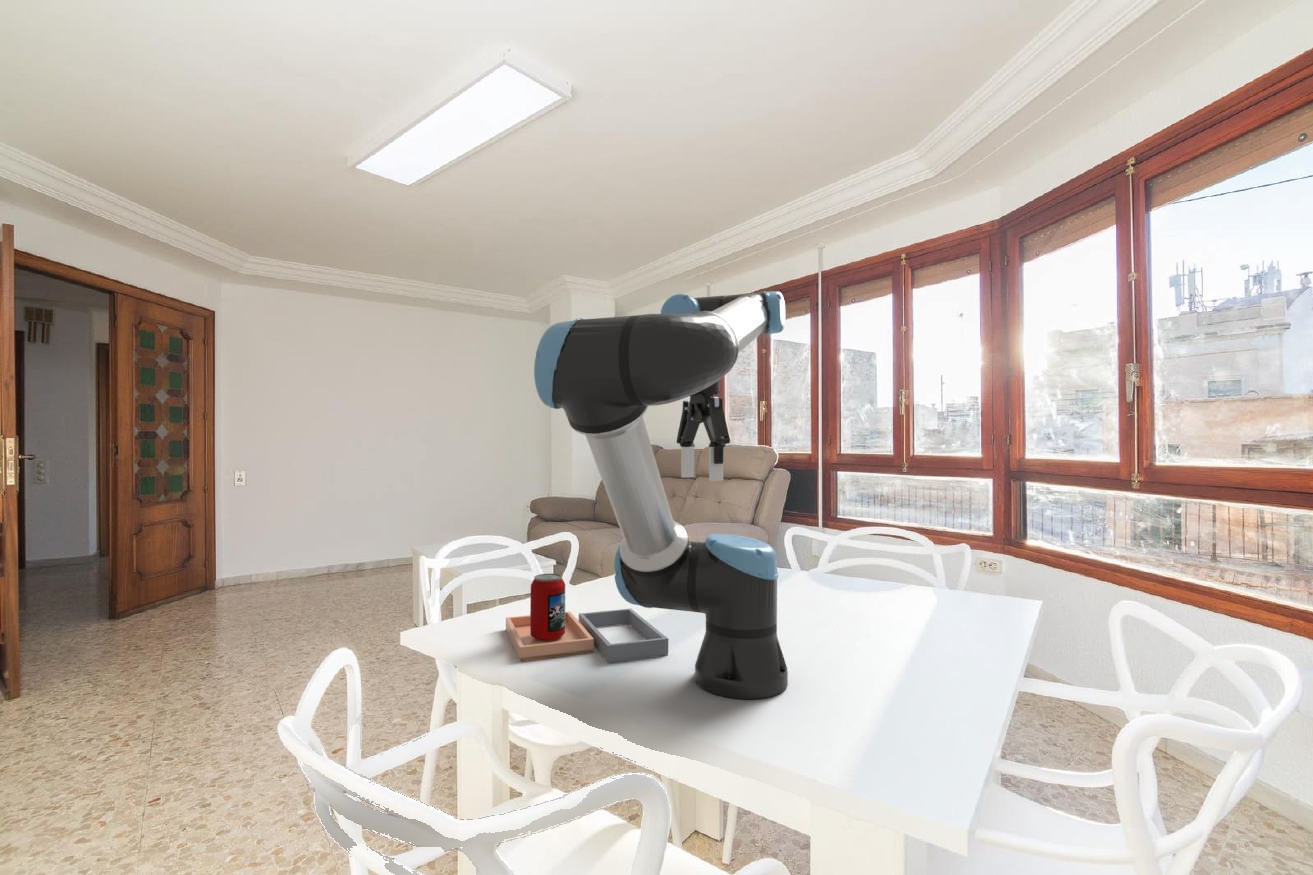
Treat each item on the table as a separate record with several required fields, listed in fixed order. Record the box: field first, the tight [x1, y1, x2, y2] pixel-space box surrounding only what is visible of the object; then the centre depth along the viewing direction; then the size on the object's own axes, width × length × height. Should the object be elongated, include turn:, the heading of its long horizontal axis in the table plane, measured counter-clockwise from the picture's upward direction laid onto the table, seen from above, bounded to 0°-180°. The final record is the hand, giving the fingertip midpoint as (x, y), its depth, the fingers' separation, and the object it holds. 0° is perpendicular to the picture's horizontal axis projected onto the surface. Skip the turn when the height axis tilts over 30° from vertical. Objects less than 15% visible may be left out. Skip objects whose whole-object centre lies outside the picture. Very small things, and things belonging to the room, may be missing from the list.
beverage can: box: [529, 572, 566, 641], centre depth 119 cm, size 7×7×12 cm
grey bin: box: [578, 608, 669, 664], centre depth 119 cm, size 22×12×3 cm, turn 21°
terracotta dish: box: [505, 611, 595, 662], centre depth 119 cm, size 20×14×2 cm
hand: (701, 479), depth 123 cm, fingers open, 13 cm apart
